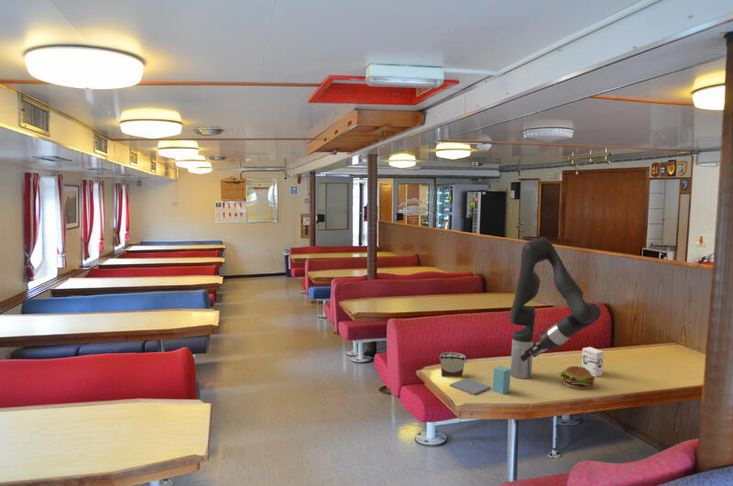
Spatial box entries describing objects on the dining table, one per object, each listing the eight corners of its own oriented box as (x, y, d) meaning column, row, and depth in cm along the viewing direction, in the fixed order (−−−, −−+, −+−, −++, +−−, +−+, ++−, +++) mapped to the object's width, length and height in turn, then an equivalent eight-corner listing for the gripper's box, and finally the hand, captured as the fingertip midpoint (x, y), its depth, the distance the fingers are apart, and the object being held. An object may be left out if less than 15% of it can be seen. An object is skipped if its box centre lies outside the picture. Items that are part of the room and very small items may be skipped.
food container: (464, 373, 239) (465, 352, 238) (465, 377, 233) (466, 356, 232) (437, 371, 240) (438, 351, 239) (438, 376, 234) (439, 355, 233)
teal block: (499, 388, 222) (500, 365, 221) (509, 391, 218) (510, 368, 217) (492, 390, 218) (493, 368, 217) (502, 394, 215) (504, 371, 214)
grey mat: (466, 379, 230) (466, 378, 230) (490, 388, 221) (490, 386, 221) (449, 386, 222) (449, 384, 222) (474, 395, 213) (474, 393, 213)
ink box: (580, 371, 246) (582, 347, 245) (587, 369, 248) (589, 346, 247) (595, 377, 238) (596, 352, 237) (602, 375, 241) (604, 351, 239)
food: (574, 377, 238) (575, 360, 237) (599, 387, 225) (601, 370, 225) (552, 381, 232) (553, 364, 231) (578, 392, 219) (579, 374, 218)
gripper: (558, 325, 205) (530, 346, 215) (540, 331, 195) (512, 352, 205) (570, 341, 202) (541, 361, 211) (552, 347, 192) (523, 368, 202)
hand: (527, 357), depth 208 cm, fingers open, 8 cm apart
